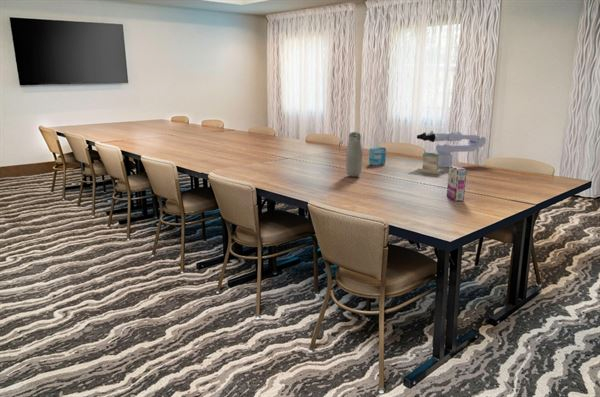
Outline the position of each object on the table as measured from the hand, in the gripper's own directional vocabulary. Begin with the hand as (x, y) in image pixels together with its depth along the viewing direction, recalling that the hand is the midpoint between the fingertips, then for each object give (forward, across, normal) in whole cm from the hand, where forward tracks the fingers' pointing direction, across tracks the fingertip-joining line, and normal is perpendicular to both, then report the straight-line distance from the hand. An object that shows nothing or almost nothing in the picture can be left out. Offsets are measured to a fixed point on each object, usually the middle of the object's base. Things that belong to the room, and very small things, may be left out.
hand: (420, 137), depth 311 cm
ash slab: (0, +14, +21) cm, 25 cm away
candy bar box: (+27, +75, +24) cm, 83 cm away
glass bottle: (+52, +7, +23) cm, 57 cm away
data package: (+18, -24, +21) cm, 37 cm away
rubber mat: (+3, +16, +22) cm, 27 cm away
